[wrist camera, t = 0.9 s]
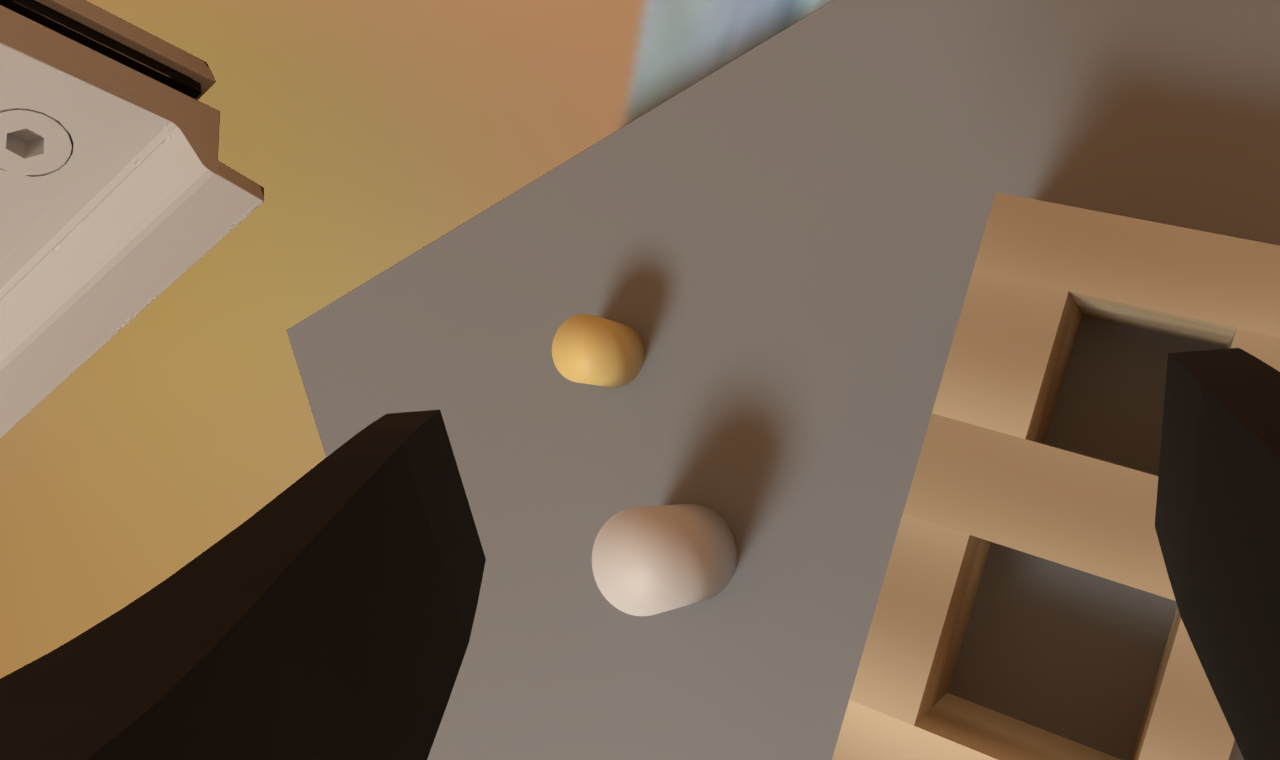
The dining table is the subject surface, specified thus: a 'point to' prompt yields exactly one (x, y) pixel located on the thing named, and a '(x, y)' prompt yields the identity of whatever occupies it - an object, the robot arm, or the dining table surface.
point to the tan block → (1045, 474)
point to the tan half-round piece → (97, 185)
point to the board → (795, 369)
